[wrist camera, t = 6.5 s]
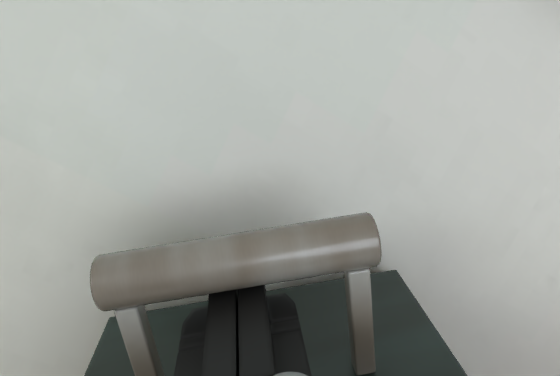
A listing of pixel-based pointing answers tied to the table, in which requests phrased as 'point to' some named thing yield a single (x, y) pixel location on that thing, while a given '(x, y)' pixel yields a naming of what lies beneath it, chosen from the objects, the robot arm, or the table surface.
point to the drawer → (261, 271)
